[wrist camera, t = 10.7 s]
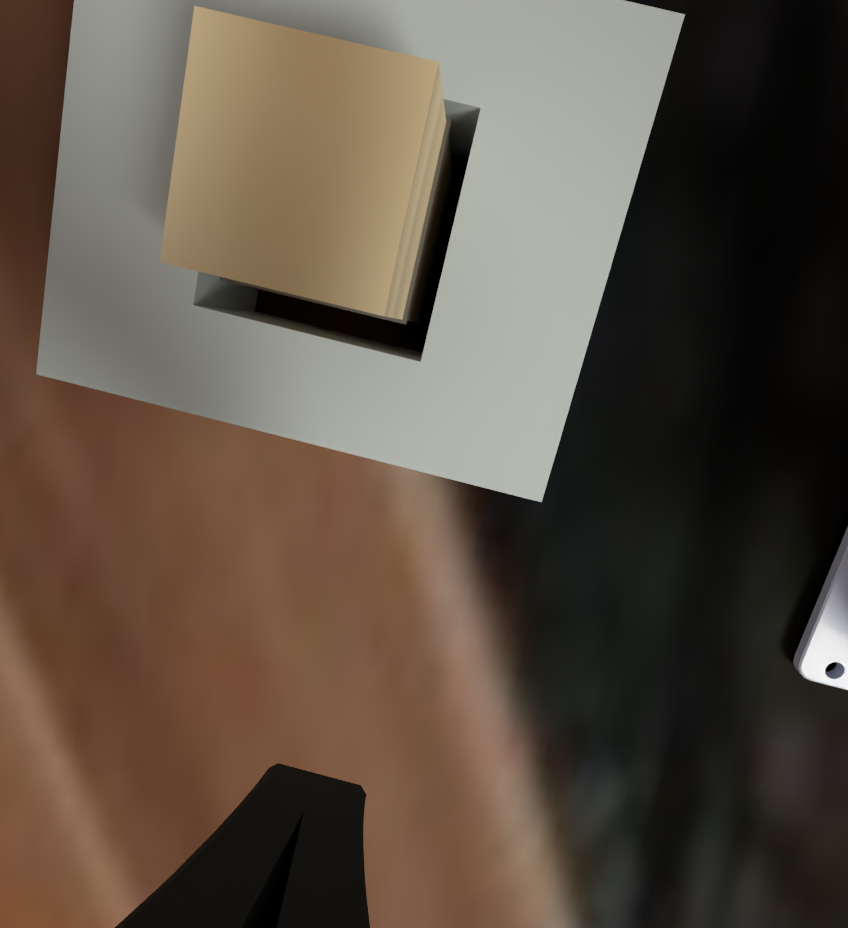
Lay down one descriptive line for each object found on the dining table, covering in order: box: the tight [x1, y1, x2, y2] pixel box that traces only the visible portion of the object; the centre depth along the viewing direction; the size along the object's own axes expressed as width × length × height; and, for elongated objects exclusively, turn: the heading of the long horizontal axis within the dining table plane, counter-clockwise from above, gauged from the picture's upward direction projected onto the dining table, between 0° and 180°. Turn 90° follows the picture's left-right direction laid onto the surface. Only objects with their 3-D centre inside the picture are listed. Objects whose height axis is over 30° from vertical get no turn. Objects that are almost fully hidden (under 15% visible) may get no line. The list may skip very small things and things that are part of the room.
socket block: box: [36, 0, 685, 502], centre depth 15 cm, size 12×10×4 cm
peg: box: [160, 6, 453, 325], centre depth 14 cm, size 4×4×7 cm
